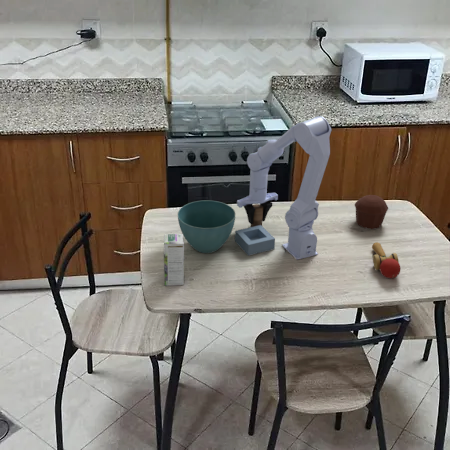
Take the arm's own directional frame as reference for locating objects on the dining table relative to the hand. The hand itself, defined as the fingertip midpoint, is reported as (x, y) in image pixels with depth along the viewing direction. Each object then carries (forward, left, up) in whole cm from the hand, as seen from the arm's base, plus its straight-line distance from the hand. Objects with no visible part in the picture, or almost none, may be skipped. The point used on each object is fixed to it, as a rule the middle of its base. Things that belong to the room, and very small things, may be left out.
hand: (256, 221), depth 198 cm
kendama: (-36, -25, -3) cm, 45 cm away
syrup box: (-18, +37, -3) cm, 41 cm away
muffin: (-13, -38, -3) cm, 40 cm away
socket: (-10, +6, -2) cm, 12 cm away
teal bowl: (-4, +21, -3) cm, 21 cm away
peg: (0, 0, -2) cm, 2 cm away
